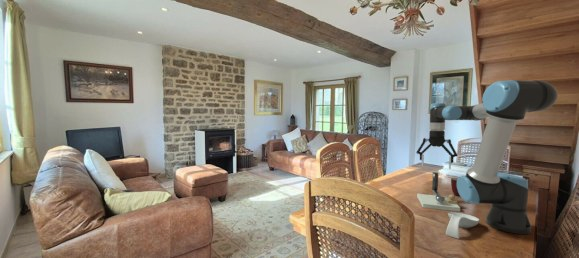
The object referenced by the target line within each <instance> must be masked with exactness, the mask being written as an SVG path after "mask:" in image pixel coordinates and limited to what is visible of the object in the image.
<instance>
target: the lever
mask: <svg viewBox="0 0 579 258" xmlns="http://www.w3.org/2000/svg"><path fill="white" fill-rule="evenodd" d="M431 182H432V183H431V184H432V185H431V187H432V188H431V190H432V194H433V195H435V196H436V200H438V201H444V199H445V197H443V196H444V195H441V194H440V192H439V172H436V171H435V172H432V181H431Z"/></svg>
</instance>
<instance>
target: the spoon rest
mask: <svg viewBox="0 0 579 258" xmlns="http://www.w3.org/2000/svg"><path fill="white" fill-rule="evenodd" d="M447 216H448V217H449V219H450V220H449V222H448V225H447V227H446V231H445V235H446V236H448V237H451V238H453V239H460V230H459V229H460V228H459V227H461V228H464V229H465V228H468V229H469V228H473V227H475V226H477V225H478V224H479V223H480V221H481V220H480V219H479V218H478V217H476V216H473V215H470V214H467V213H461V212H455V211H451V212H448V213H447Z"/></svg>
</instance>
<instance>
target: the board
mask: <svg viewBox="0 0 579 258" xmlns="http://www.w3.org/2000/svg"><path fill="white" fill-rule="evenodd" d="M416 194H417V196H416V197H417V199H418V201H419V203H420V205H421V208H424V209H434V210H443V211H451V212H458V213H461V206H459V205H458V201H457V200H456V196H455V195H454V194H452V193H451V194H449V195H448V196H444V195H442V196H443V197H445V199H444V201H438V200H436V196H435V194H423V193H416Z"/></svg>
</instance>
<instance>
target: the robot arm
mask: <svg viewBox="0 0 579 258" xmlns="http://www.w3.org/2000/svg"><path fill="white" fill-rule="evenodd" d="M481 98H482V99H481V101H482V102H481V103H477V104H474V105H446V103H444V102H435V103H434V102H433V103H431V104H430V107H429V108H430V109H429V134H428V135H429V137H428V138H426V137H424V138H422V142H421V144H420V146H419V147H418V149H417V151H416V152H415V153H416V154H417V155H419V161H421V167H424V164H425V162H424V159H425V157H424V155H425V154H424V153H425V152H427V150H429V148H431V146H432V147H433V148H435V147H438V148H440V147H442V148H443V150H444V151H445V152H446V153H447V154H448V155H449V157H448V158H449V161H448V169H449V170H451V169H452V168H451V167H452V164H453V163H454V158H455V157H458V153H457V151H456V149H455V148H454V146H453V144H452V140H451V139H450V138H449V139H445V137H446V135H445V129H446V121H484V120H485V119H487V118H488V120H487V121H486V122H487V123H486V125H485V129H484V132H483V134H482V138H481V141H480V144H479V147H478V150H477V154H476V156H475V159H474V162H473V165H472V167H470V168H468V169H467V170H466V173H465V175H461V176H459V177H457V178H458V180H457V190H458V193H459V195H460V196H459V197H460V198H461V199H462V200H463V201H465V202H466V203H469V204H476V205H478V204H483V205H485V204H489V205H491V207H490V209H489V211H488V213H487V215H486V217H485V218H486V219H485V223H486V224H487V225H488V226H489V227H490V226H491V227H492V228H495V229H496V230H500V231H503V232H505V233H506V232H507V233H512V234H517V235H528V234H531V233H532V225H531V222H530V219H529V216H528V213H527V209H528V199H529V198H528V196H529V190H530V189H529V181H528V180H527V179H526V178H525V177H521V176H519V175H513V174H510V173H502V172H499V171H500V168H501V165H502V163H503V159H504V157H505V155H506V152H507V149H508V146H509V144H510V142H511V138H512V136H513V134H514V132H515V131H514V130H515V128H516V126H517V123H518V122H520V121H523V120H524V119H525V116H526V115H527V113H532V112H542V111H545V110H547V109H549V108H552V107H553V105H554V104H555V103H556V101H557V100H558V91H557V89H556V87H555V86H553V85H552V84H551V83H549V82H547V81H544V80H537V79H536V80H521V79H520V80H519V79H518V80H517V79H507V80H498V81H495V82H493V83H491V84H490V85H489V86H488V87H486V89H485V91H484V93H483V94H482V97H481ZM427 142H428V143H429V144H428V145H427V146H426V147H425V148H424V149H423V150H422V148H423V147H424V146H425V144H426V143H427ZM445 143H447V144H448V145H449V148H450V149H451V151H452V152H451V151H450V150H449V149H448V148H447V147H446V145H445ZM421 150H422V151H421Z"/></svg>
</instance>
